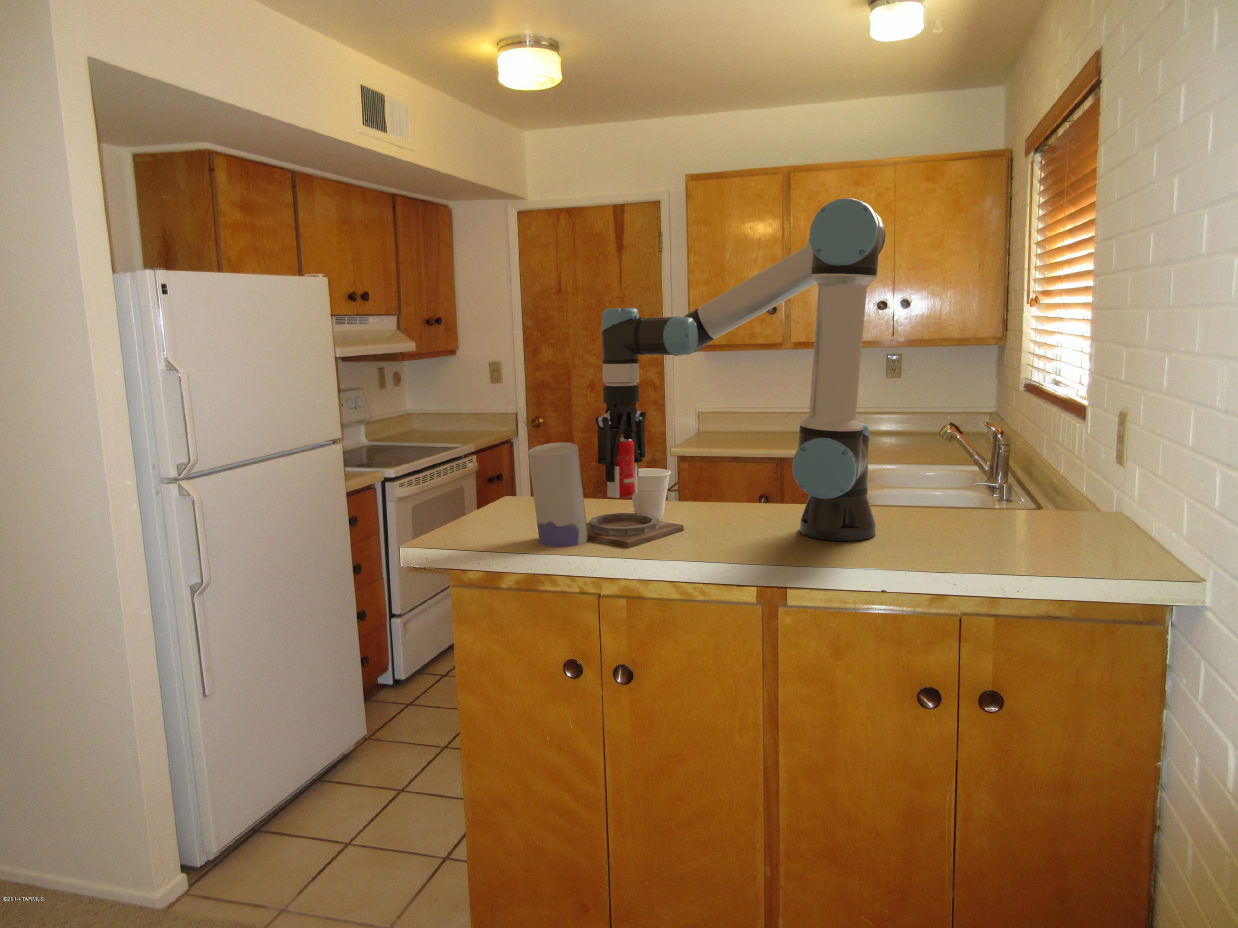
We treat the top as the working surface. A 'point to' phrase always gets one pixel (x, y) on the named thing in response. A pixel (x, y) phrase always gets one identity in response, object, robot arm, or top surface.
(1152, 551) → the top surface
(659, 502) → the cup
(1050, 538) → the top surface
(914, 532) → the top surface
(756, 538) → the top surface
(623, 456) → the beverage can
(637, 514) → the collar board
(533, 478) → the container
